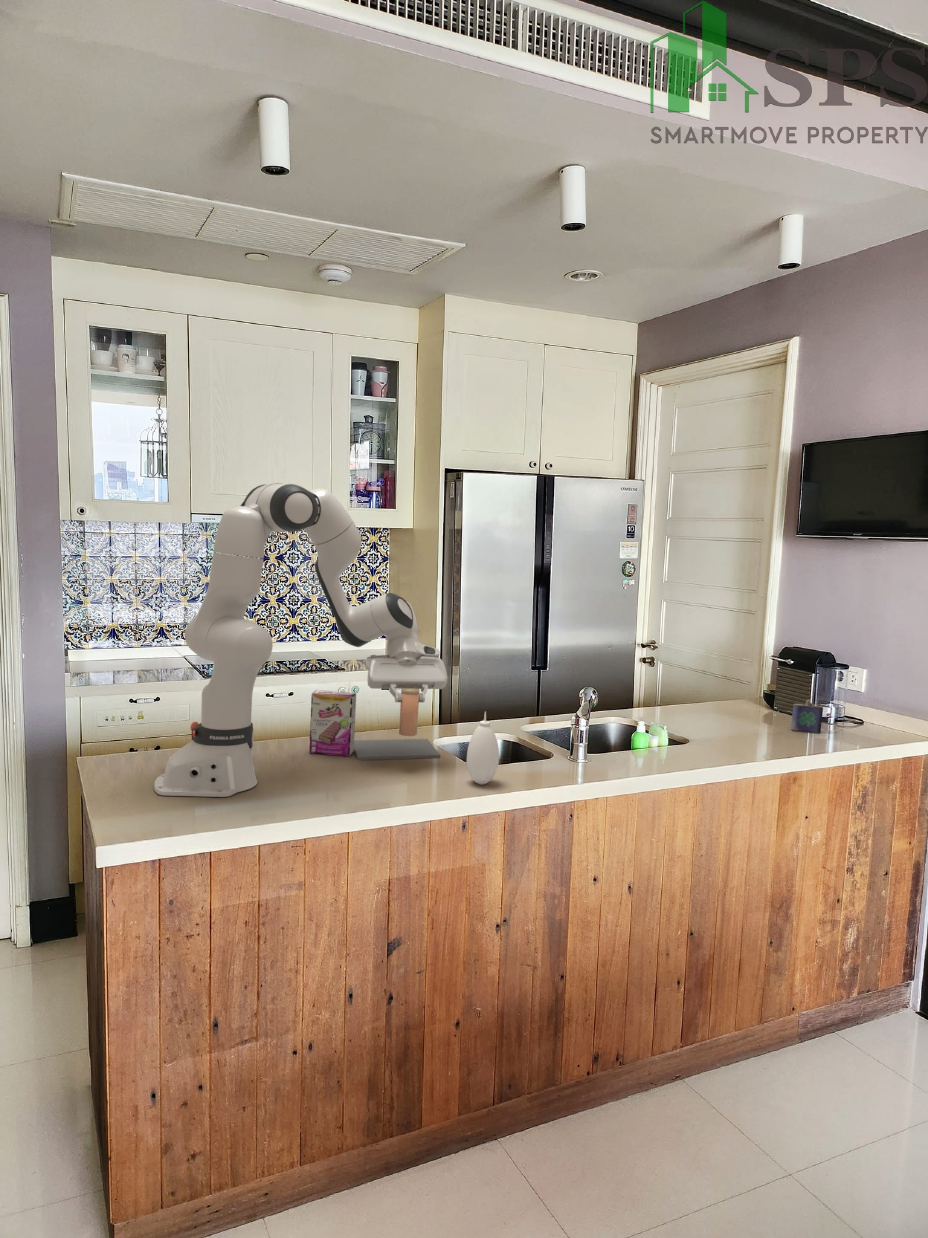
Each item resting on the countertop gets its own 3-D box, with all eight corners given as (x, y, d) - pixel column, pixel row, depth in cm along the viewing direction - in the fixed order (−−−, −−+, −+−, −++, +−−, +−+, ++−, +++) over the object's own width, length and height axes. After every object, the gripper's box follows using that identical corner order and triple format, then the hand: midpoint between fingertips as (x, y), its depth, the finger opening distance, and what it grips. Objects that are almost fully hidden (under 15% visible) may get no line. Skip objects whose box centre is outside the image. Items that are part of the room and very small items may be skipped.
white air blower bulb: (498, 779, 206) (502, 708, 204) (496, 789, 199) (500, 715, 196) (467, 777, 207) (470, 706, 205) (463, 787, 199) (467, 713, 197)
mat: (358, 760, 217) (358, 757, 216) (349, 743, 232) (350, 740, 232) (440, 757, 222) (440, 754, 222) (427, 741, 238) (427, 738, 238)
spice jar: (400, 736, 206) (403, 690, 204) (397, 731, 210) (399, 687, 209) (418, 736, 207) (421, 690, 206) (414, 731, 211) (417, 687, 210)
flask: (791, 731, 274) (794, 699, 272) (789, 729, 276) (793, 697, 275) (821, 734, 271) (824, 702, 270) (819, 732, 274) (823, 700, 273)
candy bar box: (308, 754, 220) (310, 693, 218) (313, 749, 225) (315, 689, 223) (350, 757, 219) (352, 696, 217) (354, 752, 224) (356, 692, 222)
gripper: (366, 647, 210) (370, 694, 202) (445, 649, 216) (452, 694, 207) (363, 662, 215) (366, 708, 207) (439, 663, 220) (446, 708, 212)
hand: (410, 701), depth 207 cm, fingers closed on spice jar, 4 cm apart
